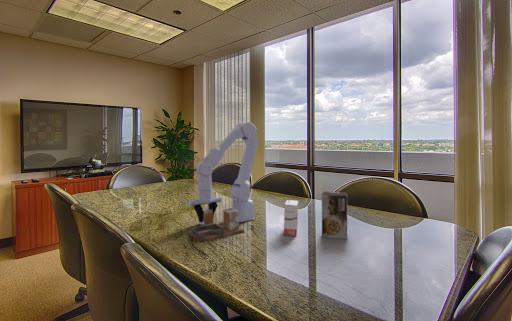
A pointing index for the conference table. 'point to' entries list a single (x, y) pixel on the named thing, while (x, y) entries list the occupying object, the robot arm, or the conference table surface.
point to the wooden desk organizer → (219, 227)
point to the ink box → (291, 217)
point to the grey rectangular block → (206, 216)
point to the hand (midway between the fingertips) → (205, 220)
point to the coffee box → (334, 215)
